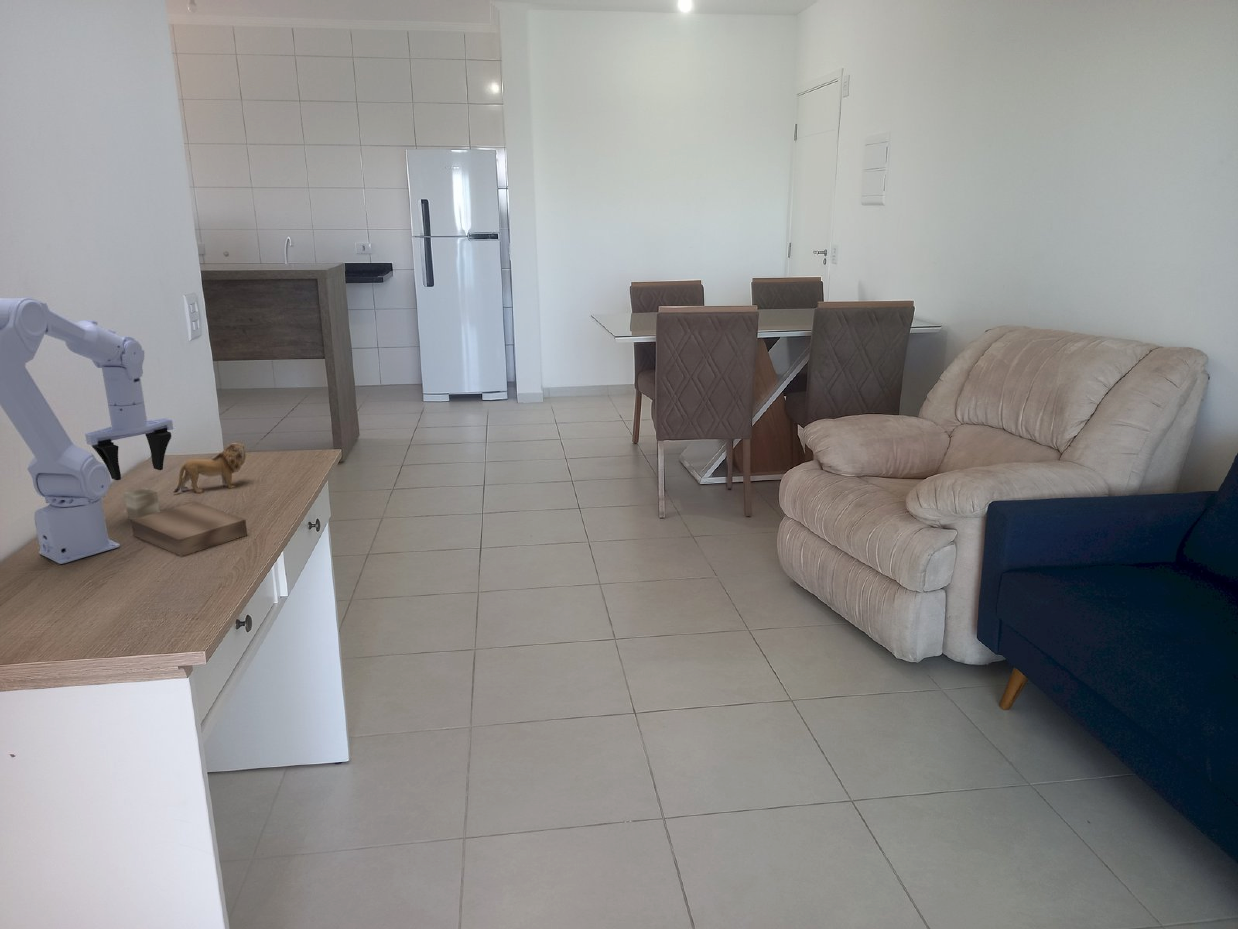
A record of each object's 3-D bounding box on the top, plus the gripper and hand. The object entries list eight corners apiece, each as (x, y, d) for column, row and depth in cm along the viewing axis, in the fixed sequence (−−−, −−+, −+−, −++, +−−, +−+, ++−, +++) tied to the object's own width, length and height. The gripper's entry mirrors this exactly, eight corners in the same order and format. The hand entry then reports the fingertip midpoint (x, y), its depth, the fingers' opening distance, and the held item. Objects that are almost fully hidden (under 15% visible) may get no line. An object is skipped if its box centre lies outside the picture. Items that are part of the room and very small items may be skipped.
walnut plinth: (181, 556, 140) (179, 539, 139) (133, 535, 148) (130, 519, 148) (247, 535, 149) (245, 519, 148) (198, 516, 158) (196, 501, 157)
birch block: (139, 522, 155) (135, 497, 153) (128, 518, 157) (124, 493, 156) (160, 516, 158) (156, 491, 157) (149, 512, 160) (145, 487, 159)
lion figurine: (245, 479, 181) (240, 439, 178) (253, 485, 177) (248, 444, 174) (170, 492, 172) (164, 450, 169) (177, 498, 168) (170, 456, 165)
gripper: (154, 393, 159) (165, 461, 163) (72, 406, 148) (85, 479, 151) (174, 398, 155) (184, 467, 159) (91, 412, 144) (104, 486, 148)
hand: (137, 474), depth 155 cm, fingers open, 7 cm apart
